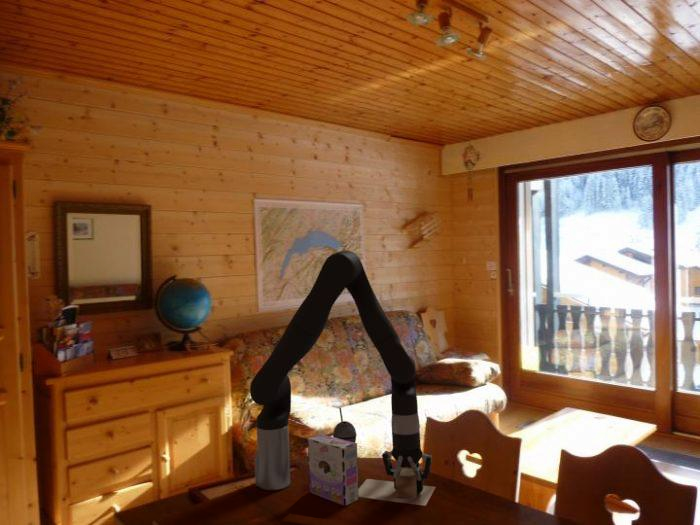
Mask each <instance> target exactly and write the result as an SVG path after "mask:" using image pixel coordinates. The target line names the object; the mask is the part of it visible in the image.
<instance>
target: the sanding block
mask: <svg viewBox="0 0 700 525" xmlns="http://www.w3.org/2000/svg"><path fill="white" fill-rule="evenodd" d="M395 484H396V498H400V499H408V500H415V499H416V497H417V495H418V494H417V478H416V475H415V473H414V472H413V470H412V468H408V467H402V468H401V471H400V473H399V475H398V476H397V477H396V479H395Z"/></svg>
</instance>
